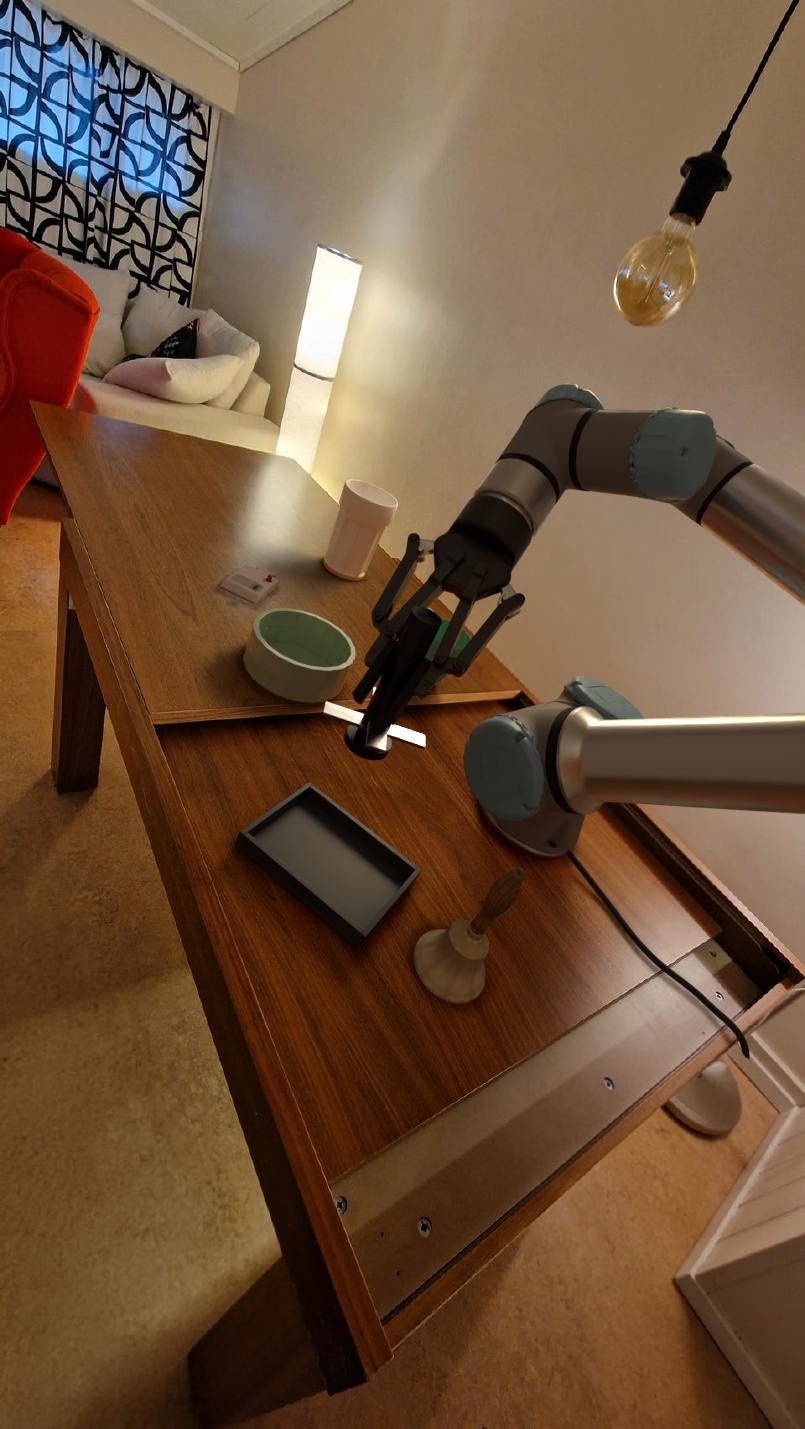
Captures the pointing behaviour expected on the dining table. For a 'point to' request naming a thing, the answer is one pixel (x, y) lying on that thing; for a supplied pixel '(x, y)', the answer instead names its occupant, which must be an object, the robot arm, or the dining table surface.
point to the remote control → (250, 583)
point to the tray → (328, 862)
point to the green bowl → (298, 655)
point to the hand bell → (464, 946)
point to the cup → (358, 528)
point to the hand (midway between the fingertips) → (373, 709)
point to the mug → (459, 646)
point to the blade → (389, 692)
